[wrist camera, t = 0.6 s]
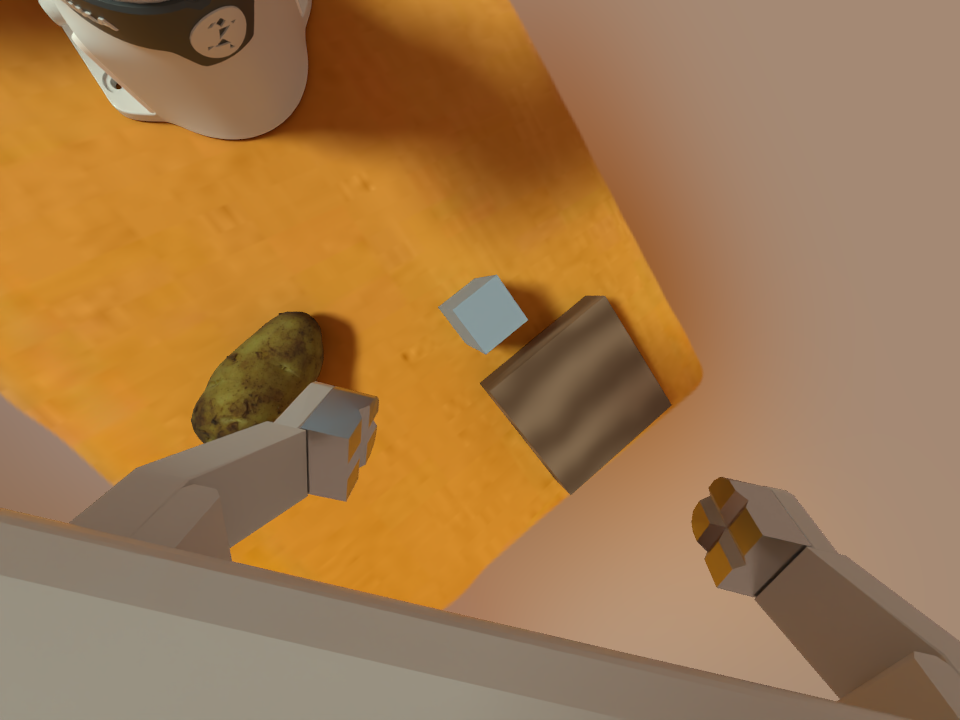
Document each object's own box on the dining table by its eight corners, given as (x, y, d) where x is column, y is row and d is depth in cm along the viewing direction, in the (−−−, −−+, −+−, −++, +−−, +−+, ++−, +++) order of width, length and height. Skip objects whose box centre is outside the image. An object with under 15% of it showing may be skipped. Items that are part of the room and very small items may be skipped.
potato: (359, 365, 40) (356, 381, 32) (255, 446, 39) (225, 483, 31) (302, 300, 38) (284, 301, 30) (189, 383, 36) (139, 407, 29)
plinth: (479, 383, 44) (489, 391, 40) (585, 295, 45) (604, 295, 41) (555, 479, 48) (570, 495, 44) (648, 396, 50) (671, 404, 46)
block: (438, 307, 41) (452, 310, 34) (474, 278, 42) (496, 274, 34) (466, 343, 43) (486, 354, 35) (501, 315, 43) (528, 319, 35)
